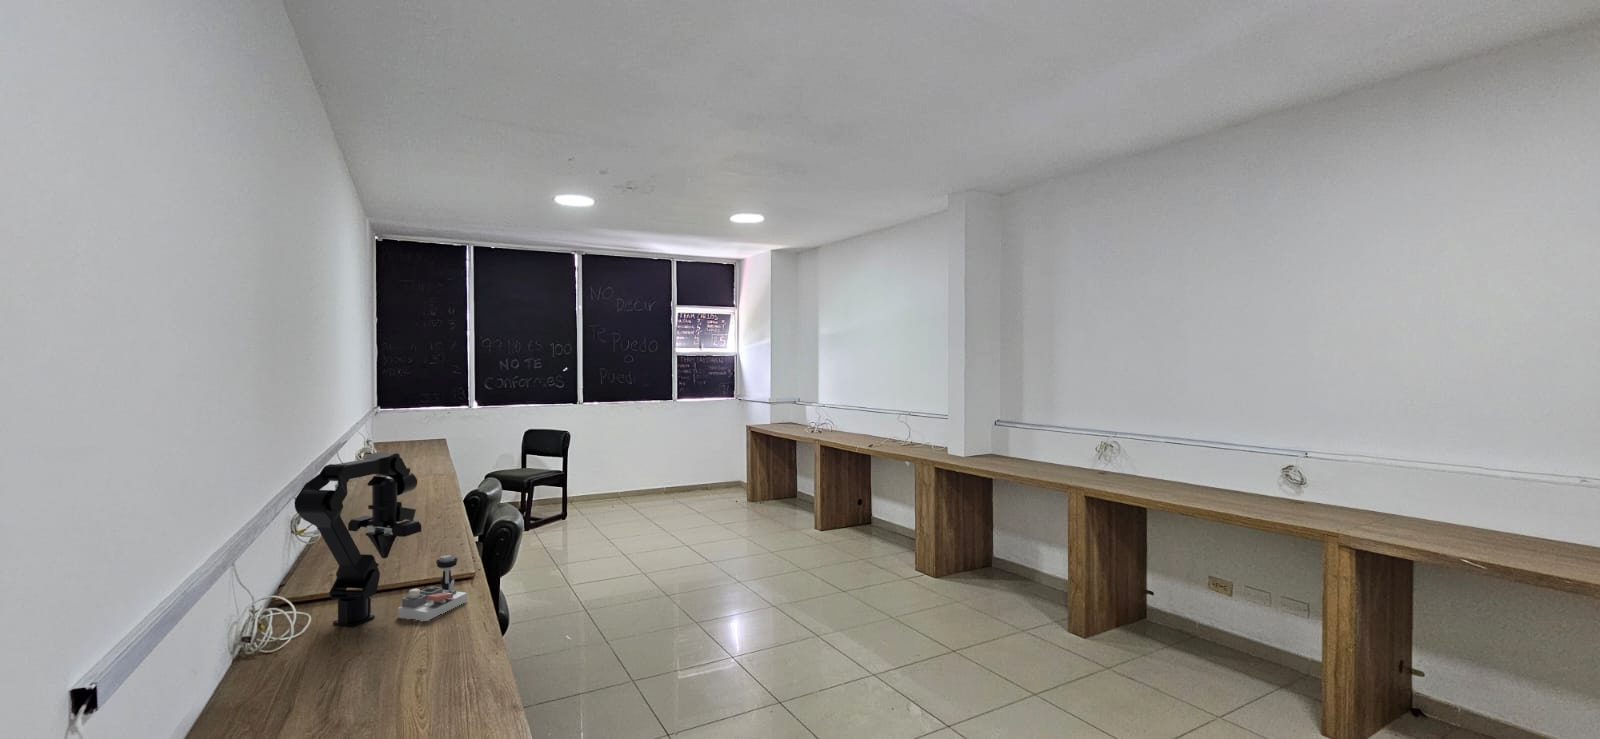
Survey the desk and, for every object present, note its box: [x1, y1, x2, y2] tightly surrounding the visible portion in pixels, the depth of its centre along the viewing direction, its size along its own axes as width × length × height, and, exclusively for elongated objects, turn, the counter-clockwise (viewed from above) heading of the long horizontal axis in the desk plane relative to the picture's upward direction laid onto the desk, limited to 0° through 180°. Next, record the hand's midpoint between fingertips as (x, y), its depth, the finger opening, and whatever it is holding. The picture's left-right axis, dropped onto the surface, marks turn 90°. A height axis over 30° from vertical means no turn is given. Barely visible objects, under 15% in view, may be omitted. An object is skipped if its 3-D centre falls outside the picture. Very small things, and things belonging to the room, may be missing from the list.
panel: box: [397, 579, 468, 621], centre depth 180 cm, size 14×9×6 cm, turn 165°
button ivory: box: [408, 588, 421, 600], centre depth 177 cm, size 2×2×2 cm
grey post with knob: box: [435, 554, 459, 590], centre depth 193 cm, size 7×5×10 cm
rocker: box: [427, 592, 453, 601], centre depth 178 cm, size 6×3×1 cm, turn 166°
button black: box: [425, 585, 437, 592], centre depth 182 cm, size 2×2×2 cm
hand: (384, 557), depth 184 cm, fingers closed
